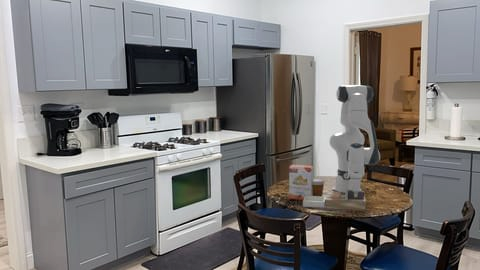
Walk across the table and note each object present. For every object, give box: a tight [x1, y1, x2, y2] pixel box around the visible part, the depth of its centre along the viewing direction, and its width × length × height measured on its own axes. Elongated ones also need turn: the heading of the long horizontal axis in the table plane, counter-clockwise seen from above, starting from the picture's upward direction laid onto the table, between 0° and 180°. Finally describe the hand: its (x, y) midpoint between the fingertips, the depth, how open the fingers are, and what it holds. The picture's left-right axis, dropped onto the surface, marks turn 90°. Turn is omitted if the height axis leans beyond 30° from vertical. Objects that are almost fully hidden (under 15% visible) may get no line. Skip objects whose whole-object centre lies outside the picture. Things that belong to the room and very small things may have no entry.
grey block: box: [344, 190, 365, 200], centre depth 230 cm, size 12×10×4 cm
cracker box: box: [288, 164, 314, 201], centre depth 248 cm, size 14×6×21 cm, turn 65°
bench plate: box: [324, 193, 366, 212], centre depth 232 cm, size 12×22×5 cm, turn 74°
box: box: [302, 195, 326, 209], centre depth 237 cm, size 12×12×4 cm
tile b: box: [332, 193, 340, 200], centre depth 231 cm, size 4×4×2 cm
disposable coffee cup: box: [312, 177, 325, 196], centre depth 248 cm, size 10×10×12 cm
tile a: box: [332, 191, 342, 197], centre depth 236 cm, size 4×4×2 cm
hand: (355, 195), depth 230 cm, fingers closed on grey block, 2 cm apart
